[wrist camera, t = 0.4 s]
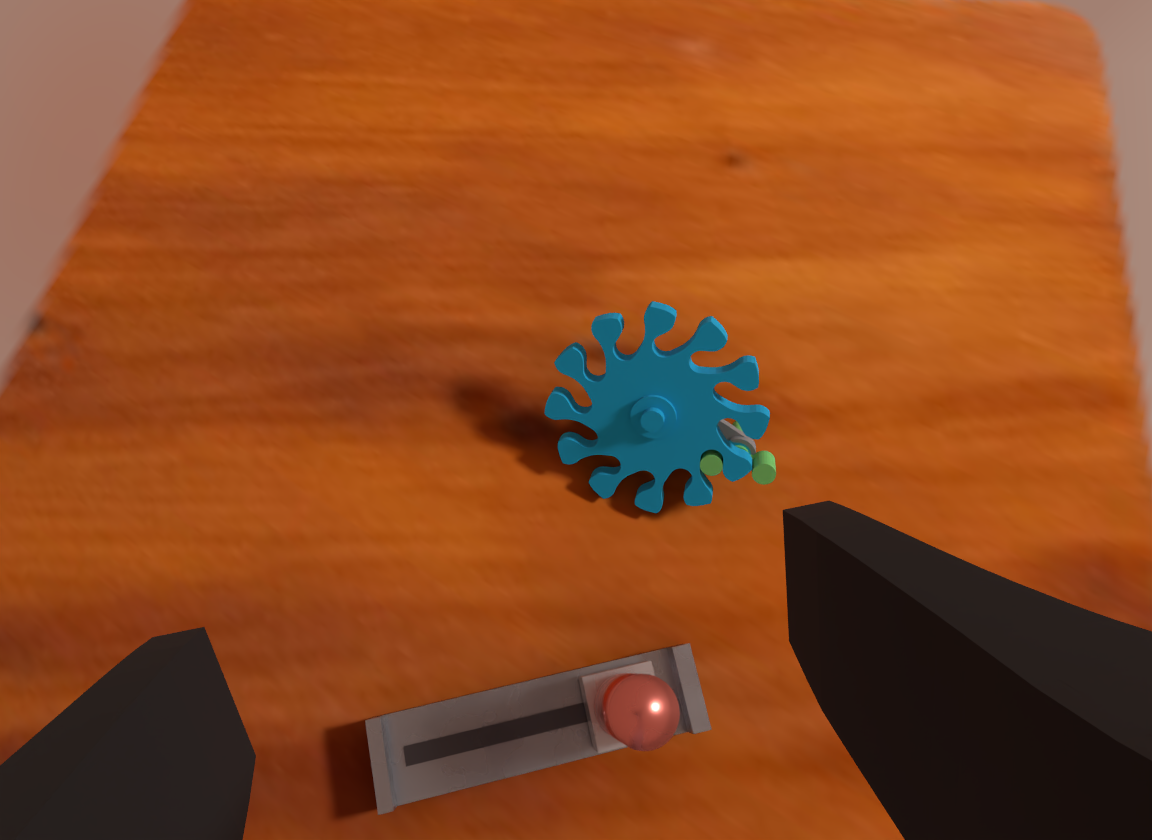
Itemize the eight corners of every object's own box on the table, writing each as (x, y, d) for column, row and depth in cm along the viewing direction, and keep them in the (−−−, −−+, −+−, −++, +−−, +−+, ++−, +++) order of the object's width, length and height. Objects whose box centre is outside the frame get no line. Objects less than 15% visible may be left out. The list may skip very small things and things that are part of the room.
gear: (503, 443, 36) (616, 264, 32) (534, 393, 42) (635, 234, 37) (701, 568, 37) (840, 411, 33) (708, 504, 42) (828, 361, 38)
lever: (660, 731, 34) (694, 745, 28) (593, 749, 34) (613, 766, 28) (643, 660, 35) (673, 659, 29) (578, 676, 34) (594, 678, 28)
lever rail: (700, 726, 35) (711, 729, 33) (384, 807, 33) (378, 814, 31) (680, 644, 36) (689, 643, 34) (371, 717, 34) (364, 720, 32)
